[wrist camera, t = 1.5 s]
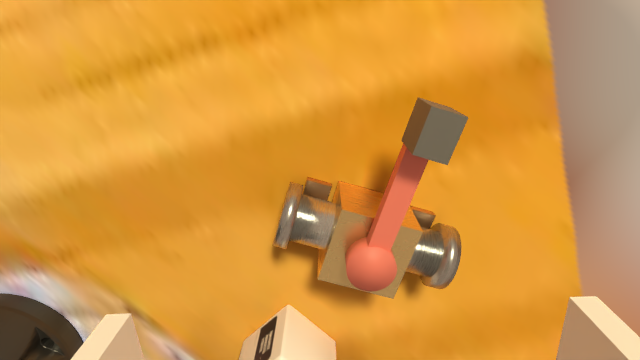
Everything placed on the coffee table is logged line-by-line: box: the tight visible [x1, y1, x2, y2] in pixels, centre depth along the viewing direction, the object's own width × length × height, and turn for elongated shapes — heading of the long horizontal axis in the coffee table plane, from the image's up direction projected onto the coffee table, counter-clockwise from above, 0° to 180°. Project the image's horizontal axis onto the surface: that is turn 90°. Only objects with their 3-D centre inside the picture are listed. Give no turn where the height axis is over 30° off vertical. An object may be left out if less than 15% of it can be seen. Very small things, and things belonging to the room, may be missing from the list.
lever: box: [345, 98, 468, 292], centre depth 27 cm, size 16×4×4 cm, turn 164°
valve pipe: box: [273, 177, 461, 299], centre depth 35 cm, size 16×7×6 cm, turn 74°
